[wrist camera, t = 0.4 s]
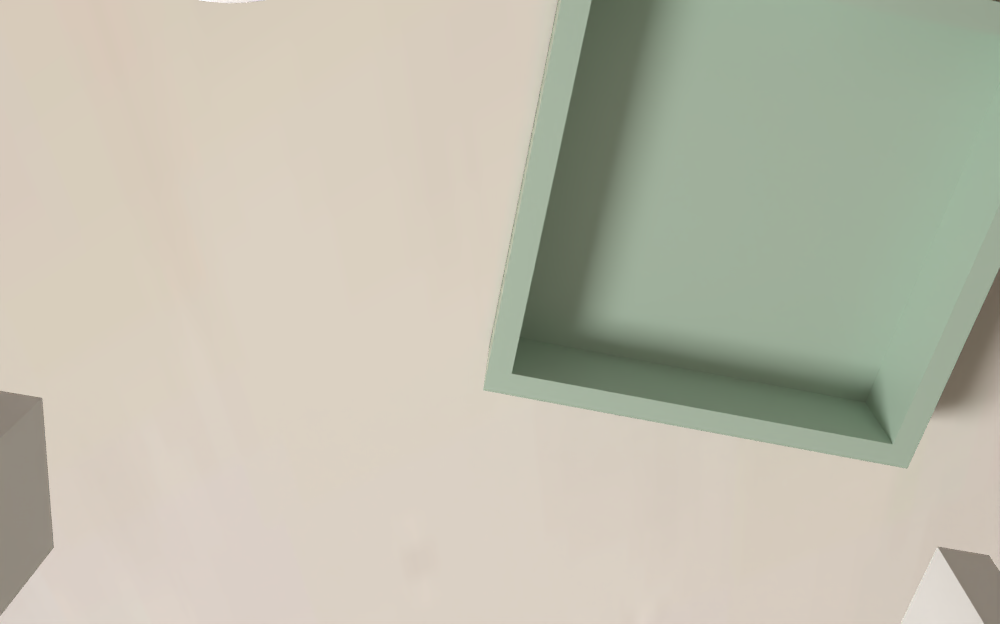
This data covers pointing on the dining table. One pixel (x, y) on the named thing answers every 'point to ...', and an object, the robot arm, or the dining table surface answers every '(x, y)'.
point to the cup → (232, 1)
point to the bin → (757, 217)
